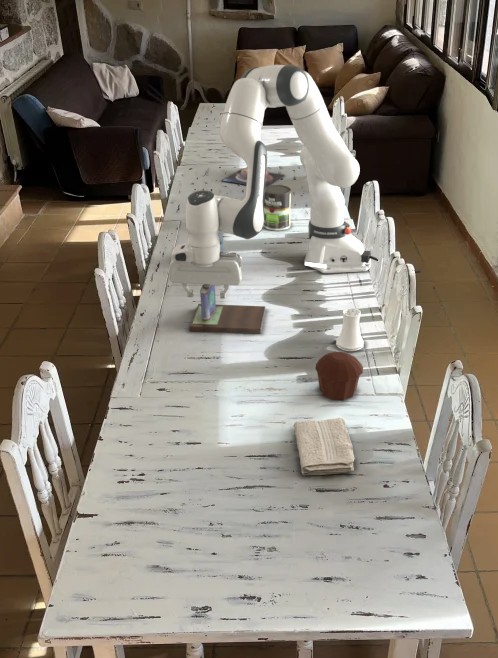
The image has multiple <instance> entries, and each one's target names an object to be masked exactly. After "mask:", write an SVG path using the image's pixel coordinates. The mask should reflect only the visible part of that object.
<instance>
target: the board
mask: <svg viewBox="0 0 498 658" xmlns="http://www.w3.org/2000/svg"><path fill="white" fill-rule="evenodd" d="M265 314H266V306H265V305H243V304H242V305H239V304H216V309H215V311H214V312H213V315H212V316H211V317H210V318H211V319H210V320H208V321H203V320H204V319H203V320H202V313H201V303H198V304H197V306H196V308H195V312H194V314H193V317H192V320H191V323H190V325H189V331H190V332H207V333H208V332H210V333H233V334H234V333H235V334H260V335H261V334H262V330H263V325H264V320H265Z"/></svg>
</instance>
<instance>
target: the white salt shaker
mask: <svg viewBox="0 0 498 658" xmlns="http://www.w3.org/2000/svg"><path fill="white" fill-rule="evenodd" d="M360 319H361V310H360V309H358V308H354V307H347V308H345V309H343V310H342V326H341V331H340V333H339V336H338V337H337V338H336V340H335V346H336V347H337V348H338V349H340V350H343V351H344V352H356V351H359V350H361V349H362V348H364V344H365V341H364V339H363V338H362V336H361V331H360V330H361V329H360Z"/></svg>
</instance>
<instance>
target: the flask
mask: <svg viewBox="0 0 498 658" xmlns="http://www.w3.org/2000/svg"><path fill="white" fill-rule="evenodd" d="M199 295H200V296H199V298H200V304H201V313H202V320H203V319H204V320H203V321H208V320H210V319H211V318H210V317H211V316H212V315H213V312H214V311H215V309H216V305H217V304H216V303H217V302H216V285H209V284H202V285H201V288H200V291H199Z"/></svg>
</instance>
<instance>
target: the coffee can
mask: <svg viewBox="0 0 498 658" xmlns="http://www.w3.org/2000/svg"><path fill="white" fill-rule="evenodd" d="M291 194H292V189H291V187H289V186H288V185H283V184H272V185H271V184H269V185H268V186H267V187H265V194H264V225H263V228H265V229H266V230H269V231H277V232H278V231H286V230H288V229H290V228H291V208H292V207H291V205H292V204H291V203H292V202H291V201H292V200H291V198H292V195H291Z"/></svg>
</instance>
